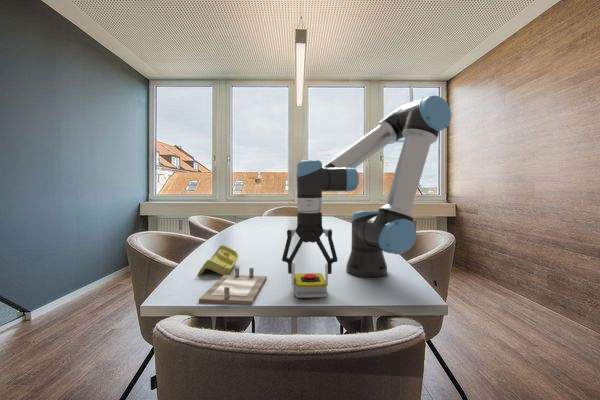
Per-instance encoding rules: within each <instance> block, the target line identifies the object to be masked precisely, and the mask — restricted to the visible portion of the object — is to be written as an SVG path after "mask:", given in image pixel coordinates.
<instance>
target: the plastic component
mask: <svg viewBox="0 0 600 400" xmlns="http://www.w3.org/2000/svg"><path fill="white" fill-rule="evenodd" d="M238 259H239V253H238V252H237V251H235V250H234V249H232V248H231V247H228V246H226V245H224V244H221V245H220V246H219V247H218V249H217V250H216V251H215V253H213V255H212V257H210V259H207V260H206V261H205V262H204V263H203V266H202V267H201V269H199V271H198V273H197V274H198V275H200V276H201V275H203V274H204V272H205V271H206V270H207V269H209V270H211V271H213V272H215V273H217V274H219V275H222V276H224V275H230V273H231V271H232V270H233V268H234V266H235V265H236V263H237V261H238Z"/></svg>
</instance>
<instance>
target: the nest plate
mask: <svg viewBox="0 0 600 400" xmlns="http://www.w3.org/2000/svg"><path fill="white" fill-rule="evenodd" d="M248 270H249V272H248V273H249V275H245V274H244V275H242V274H241V275H240V267H238V266H237V267H234V274H233V275H232V274H228V275H222V276H221V277H220V278H219V279H218V280H217V281H216V282H215V283H214V284H213V285H212V286H210V288H209V289H207V291H205V292H204V293H203V294H202V295H201V296H200V297H198V298H199V299H198V303H200V304H201V303H203V304H205V303H206V304H225V305H226V304H227V305H228V304H230V305H231V304H232V305H233V304H234V305H253V304H254V302H255V300H256V298H257V297H258V295H259V293H260V292H261V289H262V288H263V286H264V285H265V283H266V281H267V278H268V276H266V275H255V274H254V272H255V271H254V267H249V269H248Z"/></svg>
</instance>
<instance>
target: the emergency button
mask: <svg viewBox="0 0 600 400" xmlns="http://www.w3.org/2000/svg"><path fill="white" fill-rule="evenodd" d="M293 286H294V292H295V293H294V294H295V297H296V298H300V299H301V298H326V297H328V296H329V293H328V288H327V287H328V286H327V284H326V281H325V276H324V275H323V273H322V272H312V273H311V272H310V273H309V272H308V273H305V272H304V273H295V284H294V285H293Z"/></svg>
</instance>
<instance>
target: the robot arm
mask: <svg viewBox="0 0 600 400" xmlns="http://www.w3.org/2000/svg"><path fill="white" fill-rule="evenodd" d="M451 120H452V112H451V107H449V104H448V102H447V101H446V100H445V99H444V98H443V97H442V96H439V95H430V96H424V97H422V98H420V99H418V100H413V101H411V102H408V103H405V104H402V105H401V106H399V107H397V108H396V109H395V110H393V111H392V112H391V113H389V114H388V115H386V116H385V117H384V118H383V119H381V120H380V121H378V122H377V124H376V127H375V128H374V129H372V130H371V131H369V132H368V133H367V134H365V135H364V136H362V137H361V138H360V139H358V140H357V141H356V142H354V143H352V144H351V145H350V146H348V147H347V148H345V150H343V151H342V152H341V153H339V154H337V155H336V156H335V157H333V158H332V159H331V160H329V161H328V162H327V163H325V164H324V165H323V163H322V161H321V160H316V159H307V160H306V159H304V160H303V159H302V160H300V161H298V162H297V165H296V193H297V195H296V196H297V197H296V209H297V214H296V216H297V217H296V221H297V223H296V225H297V226H296V228H295V229H293V228H292V229H291V228H288V230H287V231H286V236H287V239H286V243H285V245H284V246H285V247H284V250H283V253H282V258H281V261H282V262H285V263H286V264H287V273H288V274H289V275H290V274H291V286H294V284H295V274H296V262H295V261H294V259H295V257H296V255H297V254H298V252H299V250H300V248H301V246H302V244H303V243H316V244H317V246H318V248H319V250H320V252H321V253H322V255H323V257H324V259H325V262H324V263H325V264H324V265H325V267H324V270H325V271H324V272H325V273H324V274H325V276H324V279H325V281H326V284H327V287H328V286H329V285H328V284H329V275H331V274H332V273H333V272H332V268H333V267H332V264H334V263H337V262H338V255H337V252H336V248H335V243H334V240H333V230H332V229H331V228H329V229H327V228H326V229H324V228H323V213H322V212H321V211H322V209H323V192H324V193H325V192H345V193H347V192H353V191H356V189H357V188H358V186H359V183H360V182H359V181H360V177H359V172H358V170H357V168H358V167H359V166H360V165H361V164H363V163H365V162H366V161H367V160H369V159H370V158H371V157H372V156H374V155H375V154H377V153H378V152H379V151H380V150H382V149H383V148H384V147H386V146H388V145H393V144H395V143H396V142H397V141H399V140H400V139H401V140H402V139H403V138H404V141H403V144H402V148H401V150H400V154H399V157H398V161H397V164H396V168H395V170H394V174H393V176H392V177H393V178H392V180H391V184H390V187H389V191H388V193H387V196H386V200H385V204H384V205H382V206H379V208H378V210H370V211H369V210H367V211H366V210H364V211H355V212H353V213H352V214H351V215H352V216H351V249H350V254H349V257H348V260H347V262H346V270H345V271H346V272H347V274H351V276H356V277H357V276H358V277H360V278H361V277H362V278H380V277H383V276H386V275H387V274H388V266H387V265H388V264H387V262H386V259H385V255H384V253H388V254H393V255H401V254H404V253H406V252H408V251H410V249H411V248H412V247H413V246H414V244H415V242H416V239H417V230H416V226H415V224H414V223H413V222H414V219H415V218H414V216H413V215H414V214H413V213H412V208H413V205H414V203H415V199H416V196H417V195H416V194H417V192H418V188H419V186H420V185H419V184H420V181H421V179H422V178H421V177H422V174H423V171H424V169H425V168H424V167H425V164H426V161H427V157H428V154H429V150H430V147H431V145H432V144H434V143H436V142H437V141H438V138H439V135H440V132H441V131H444V129H446V128H448V126H450V124H451ZM295 234H296V235H297V236H298V238H299V240H298V241H297V243H296V245H295V246H294V249H293V250H292V253H291V254H290V256H289V257H288V255H289V250H290V247H291V243H292V239H293V237H294V236H295ZM323 234H324V236H325V237H326V238H327V241H328V245H329V249H330V252H331V257H330V255H329V252H328V251H327V249H326V247H325V245H324V244H323V241H322V239H321V236H322V235H323Z"/></svg>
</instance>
